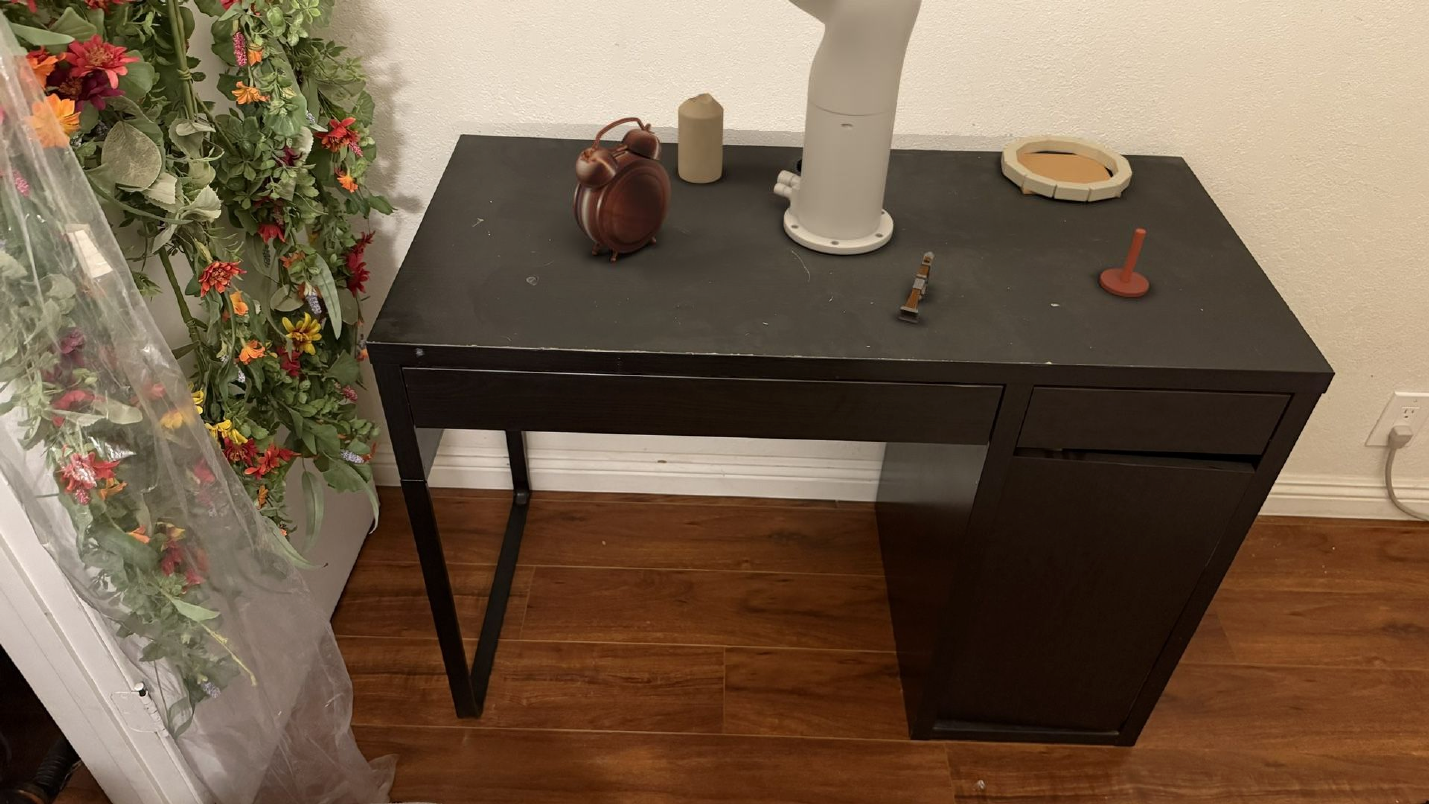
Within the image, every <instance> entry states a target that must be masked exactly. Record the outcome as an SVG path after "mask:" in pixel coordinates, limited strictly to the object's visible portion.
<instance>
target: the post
mask: <svg viewBox="0 0 1429 804" xmlns="http://www.w3.org/2000/svg"><path fill="white" fill-rule="evenodd" d="M1146 233H1147V230H1145V229H1143V228H1136V229H1135V232H1134V235H1133V238H1132V241H1131V244H1130V247H1129V250H1128V253H1127V257H1126V260H1125V262H1124V266H1123V268H1108V269H1106V270H1104V271H1102V273H1101V274H1100V276H1099V280H1098V281H1099V284H1100V286H1101V288H1103V289H1104V290H1105V291H1107V292H1108V293H1110V294H1112V295H1115V296H1118V297H1122V298H1123V297H1124V298H1139V297H1142V296H1144V295H1146V294H1147V292H1148V290H1149V287H1150V283H1149V280H1147V278H1146V277H1145V276H1143V275H1142V274H1140V273H1138V272H1136V271H1134V269H1135V266H1136V264H1137V260H1138V257H1139V254H1140V252H1141V249H1142V246H1143V242H1144V240H1145V236H1146Z"/></svg>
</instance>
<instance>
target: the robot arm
mask: <svg viewBox="0 0 1429 804" xmlns="http://www.w3.org/2000/svg"><path fill="white" fill-rule="evenodd" d="M788 2H789V3H790V4H793V5H794V6H795V7H797V8H799V9H800V10H802V11H803V12H805V13H806V14H808V15H810V16H811V17H812V18H815V19H817V20H818V21H819V22H820V23H822V24H824V33H823V35H822V36H823V37H822V39H821V41H820V43H819V46H818V47H817V50H816V52H815V54H814V56H813V59H812V61H811V65H810V70H809V75H808V84H807V92H806V93H807V94H806V95H807V99H806V110H805V122H804V135H803V144H802V145H803V146H802V147H803V148H802V156H801V159H802V160H801V171H800V175H798V174H796V173H794V172H790V171H787V170H785V169H783V170H781V171H780V172H779V174H778V176H777V180H776V182H777V183H775V185H774V186H773V187H774V188H773V194H775V195H777V196H780V197H783V198H787V199H788V200H789V202H790V205H789V207H788V208H787V209H786V211H784V215H783V228H784V231H785V233H786V234H787V235H788V236H789V238H791V239H792V240H793V241H794V242H796V243H798V244H799V245H801V246H803V247H805V248H807V249H810V250H814V251H817V252H820V253H825V254H826V253H827V254H830V255H858V254H865V253H869V252H873V251H875V250H877V249H879V248H881V247H883V246H885V245H886V244H887V243H888V242H889V241H890V240H891V238H892V236H893V231H894V220H893V219H892V217H891V215H890V214H889V213H888V212H887V211H886V210H885V209H884V208H883V204H884V200H885V199H884V198H885V193H886V191H885V190H886V184H887V178H888V170H889V163H890V156H891V150H892V143H893V135H894V129H895V128H894V127H895V121H896V114H897V107H898V99H899V98H898V97H899V93H900V92H899V91H900V84H901V77H902V72H903V67H904V61H905V57H906V53H907V50H908V46H909V42H910V39H911V36H912V33H913V29H914V27H915V25H916V22H917V20H918V16H919V12H920V10H921V6H922V2H923V0H788Z"/></svg>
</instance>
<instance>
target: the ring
mask: <svg viewBox="0 0 1429 804" xmlns="http://www.w3.org/2000/svg"><path fill="white" fill-rule="evenodd" d="M1040 152H1058V153H1067V154H1073V155H1080V156H1083V157H1087V158H1090V159H1093V160H1096V161H1097V162H1099V163H1100V164H1102V165H1103V166H1104V167H1105V169H1106V168H1107V169H1108V170H1109V171H1111V173H1112V177H1111V178H1110V179H1109V180H1106V181H1100V182H1094V183H1088V184H1082V183H1071V182H1061V181H1055V180H1052V179H1049V178H1046V177H1043V176H1040V175H1037V174H1034V173H1032V172H1031V171H1029V170H1028V169H1027V168H1025V167H1024V166H1023V165H1021V164H1020V163H1018V162H1017V159H1018V158H1020V157H1021V156H1022V155H1024V154H1027V153H1040ZM1000 164H1001V172H1002V173H1003V176H1005V177H1006V178H1008V179H1009V180H1011V181H1012V182H1013V183H1014V184H1016V185H1017V186H1018V187H1020V188H1021V187H1023V188H1024V189H1027V190H1030V191H1033V192H1036V193H1039V194H1038V195H1042V196H1044V197H1048V198H1053V197H1054V198H1053V199H1058V200H1068V201H1080V202H1086V201H1087V202H1094V201H1099V200H1106V199H1111V198H1116V197H1115V196H1117V195H1118V194H1119V193H1121V194H1122V192H1123V191H1124V190H1125V189H1126V188H1128V187H1129V185H1130V181H1131V179H1132V176H1133V171H1132V168H1131V166H1130V163H1129V160H1127V158H1125V156H1123V155H1121V154H1120V153H1118V152H1116V151H1115V150H1114V149H1111V148H1110V147H1108V146H1105V145H1103V144H1100V143H1097V142H1093V141H1090V140H1086V139H1083V138H1081V137H1080V138H1079V137H1078V138H1076V137H1074V136H1067V135H1066V136H1065V135H1053V134H1045V135H1044V134H1040V135H1033V136H1026V137H1025V136H1024V137H1020V138H1016V139H1015V140H1013V141H1011V143H1009V144H1007V145H1006V146H1004V147H1003V149H1002V152H1001V158H1000Z"/></svg>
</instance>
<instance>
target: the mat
mask: <svg viewBox="0 0 1429 804" xmlns="http://www.w3.org/2000/svg"><path fill="white" fill-rule="evenodd" d="M1017 162H1018V163H1020V164H1021V165H1023V166H1024V167H1025V168H1027V169H1028V170H1029V171H1031V172H1032V173H1034V174H1037V175H1040V176H1043V177H1046V178H1049V179H1052V180H1055V181H1061V182H1071V183H1082V184H1088V183H1094V182H1100V181H1106V180H1109V179H1110V178H1112V177H1111V175H1110V173H1109V171H1108V170H1107V169H1106V167H1105V166H1103V165H1102V164H1100V163H1099V162H1097V161H1096V160H1093V159H1090V158H1087V157H1083V156H1080V155H1077V154H1063V153H1038V152H1033V153H1027V154H1024V155H1022V156H1021V157H1020V158H1018V159H1017ZM1020 190H1021V192H1022V194H1023V195H1040V194H1039V193H1036V192H1033V191H1030V190H1027V189H1024V188H1023V187H1020ZM1121 195H1122V192H1121V193H1119V194H1118V195H1117V196H1115V197H1114V198H1121Z"/></svg>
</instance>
